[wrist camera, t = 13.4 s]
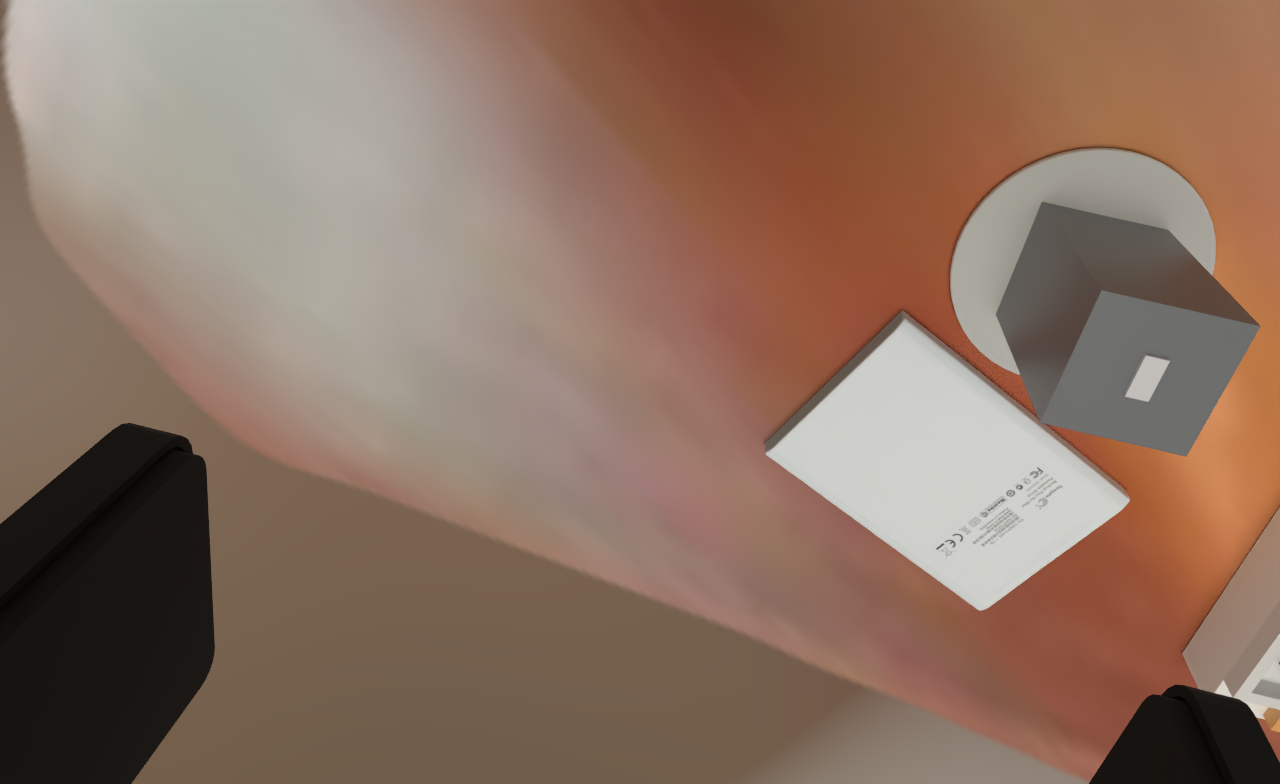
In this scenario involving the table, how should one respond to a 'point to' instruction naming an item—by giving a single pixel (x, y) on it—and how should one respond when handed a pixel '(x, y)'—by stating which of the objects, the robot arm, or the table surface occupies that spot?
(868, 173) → the table surface
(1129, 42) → the table surface
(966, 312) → the coaster
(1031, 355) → the charger
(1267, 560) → the power strip
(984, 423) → the external hard drive
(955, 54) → the table surface
